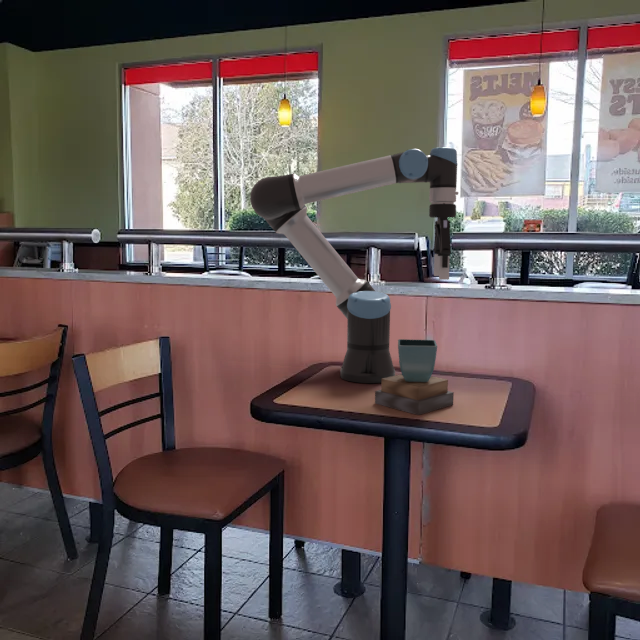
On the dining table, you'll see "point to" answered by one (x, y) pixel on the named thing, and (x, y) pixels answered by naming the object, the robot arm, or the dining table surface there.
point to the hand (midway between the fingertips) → (441, 277)
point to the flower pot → (417, 359)
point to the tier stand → (414, 394)
